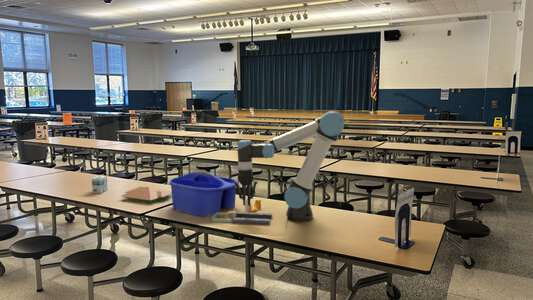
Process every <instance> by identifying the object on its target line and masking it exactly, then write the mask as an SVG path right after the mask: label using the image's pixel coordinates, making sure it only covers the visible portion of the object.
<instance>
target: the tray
mask: <svg viewBox="0 0 533 300" xmlns="http://www.w3.org/2000/svg"><path fill="white" fill-rule="evenodd" d="M222 212H223V211H220V212H216V213H215V214H212V217H210V222H215V223H216V222H217V223H218V222H220V223H232V219H222V218H221V217H220V218H219V217H218V216H221V213H222Z"/></svg>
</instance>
